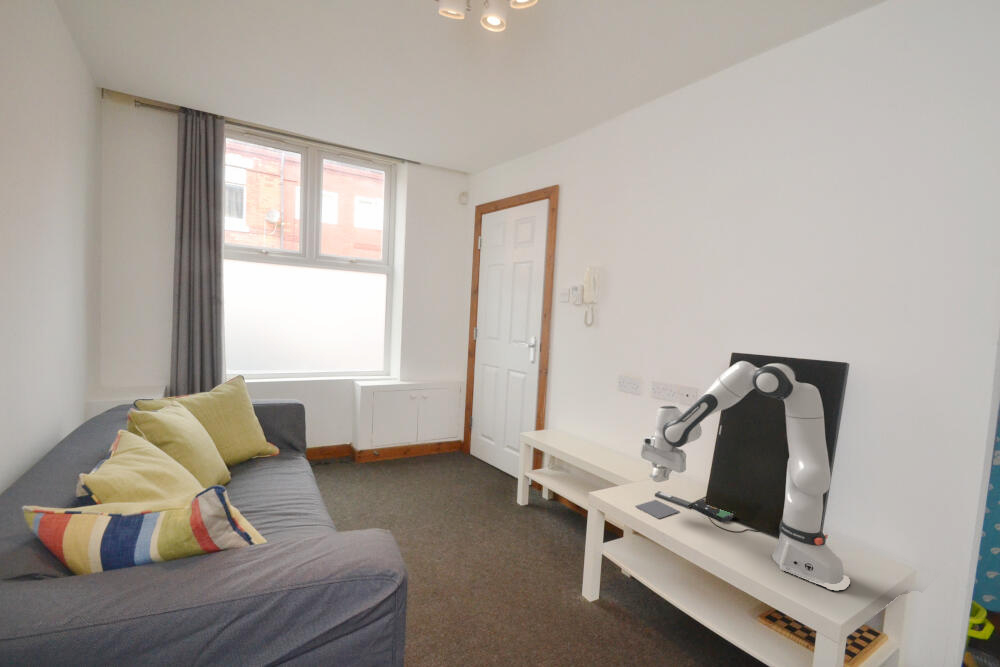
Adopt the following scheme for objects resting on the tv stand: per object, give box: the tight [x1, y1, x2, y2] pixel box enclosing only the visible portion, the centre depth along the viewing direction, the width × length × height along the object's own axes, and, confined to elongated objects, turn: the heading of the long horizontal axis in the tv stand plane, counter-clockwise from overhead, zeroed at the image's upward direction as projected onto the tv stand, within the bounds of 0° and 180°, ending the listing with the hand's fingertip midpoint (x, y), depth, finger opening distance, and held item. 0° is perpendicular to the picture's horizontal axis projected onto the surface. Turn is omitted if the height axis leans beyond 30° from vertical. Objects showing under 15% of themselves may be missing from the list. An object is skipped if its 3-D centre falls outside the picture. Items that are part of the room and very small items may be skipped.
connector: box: [649, 465, 670, 483], centre depth 194 cm, size 4×11×5 cm, turn 125°
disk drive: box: [689, 498, 734, 524], centre depth 197 cm, size 10×3×15 cm
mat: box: [634, 499, 680, 520], centre depth 196 cm, size 12×14×1 cm
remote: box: [654, 490, 692, 509], centre depth 206 cm, size 15×4×2 cm, turn 47°
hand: (661, 475), depth 195 cm, fingers closed on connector, 3 cm apart
